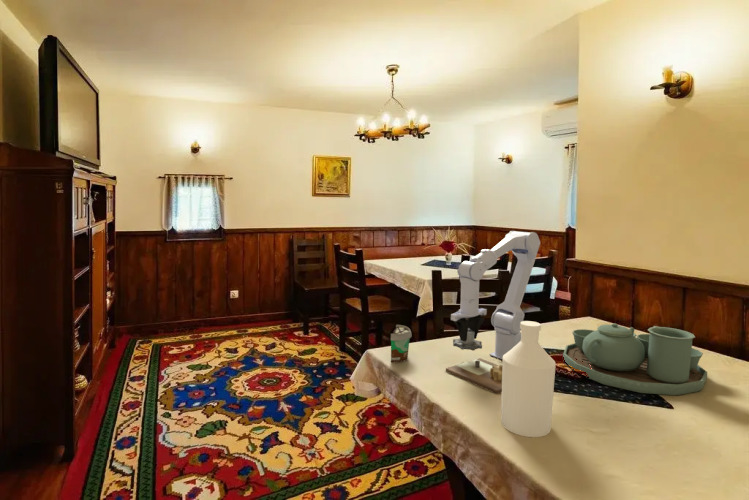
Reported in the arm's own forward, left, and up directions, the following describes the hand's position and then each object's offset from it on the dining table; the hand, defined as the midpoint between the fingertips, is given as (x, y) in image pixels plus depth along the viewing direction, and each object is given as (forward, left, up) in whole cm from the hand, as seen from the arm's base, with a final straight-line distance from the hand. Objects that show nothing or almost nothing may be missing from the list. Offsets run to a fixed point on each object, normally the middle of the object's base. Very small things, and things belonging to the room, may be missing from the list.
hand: (468, 339), depth 142 cm
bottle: (+17, +34, -9) cm, 40 cm away
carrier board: (+1, +9, -9) cm, 13 cm away
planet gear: (0, 0, -2) cm, 2 cm away
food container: (+13, -18, -9) cm, 24 cm away
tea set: (-41, +32, -9) cm, 53 cm away
